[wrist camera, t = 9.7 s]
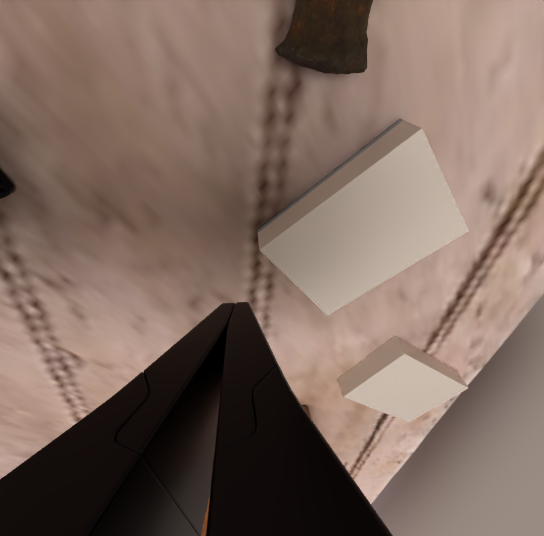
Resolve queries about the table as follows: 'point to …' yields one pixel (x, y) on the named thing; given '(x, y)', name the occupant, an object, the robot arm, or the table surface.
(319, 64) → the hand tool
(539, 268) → the table surface
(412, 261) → the flat tile
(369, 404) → the white rectangular block
